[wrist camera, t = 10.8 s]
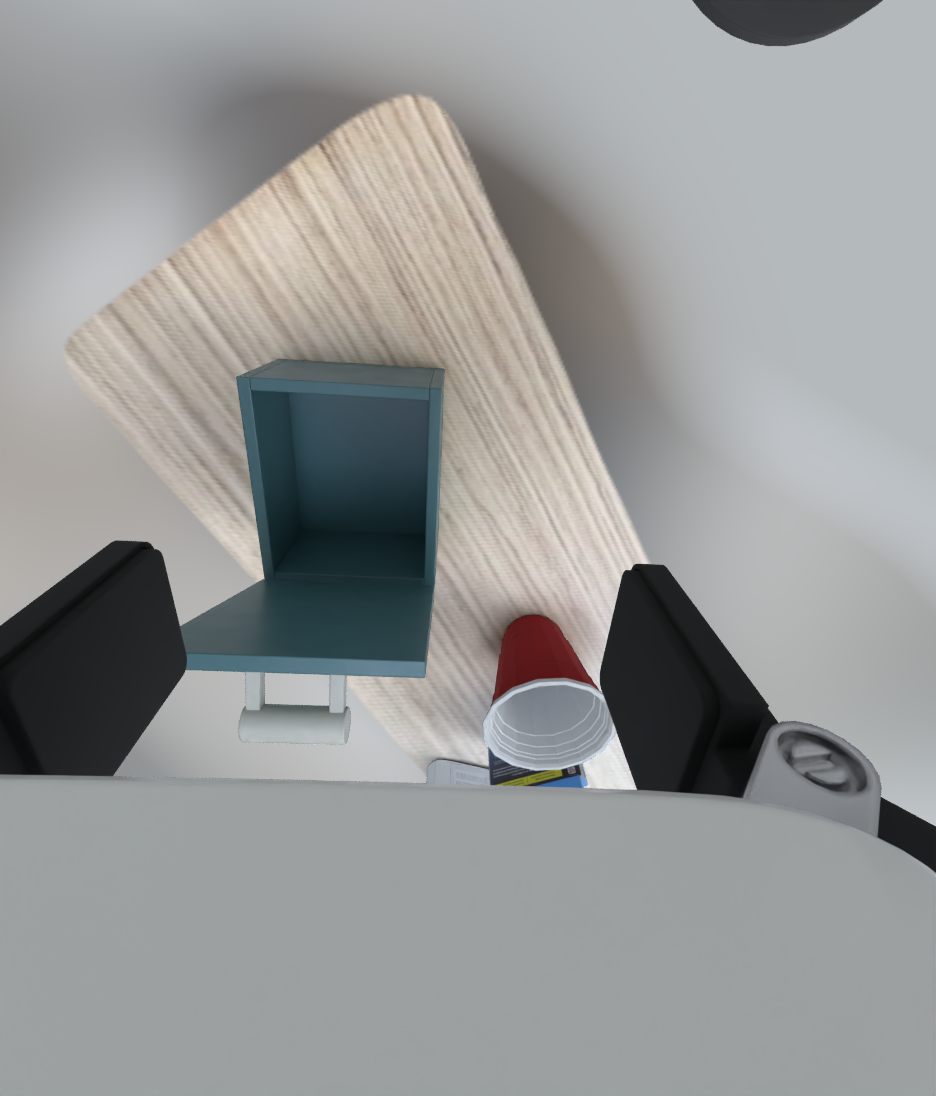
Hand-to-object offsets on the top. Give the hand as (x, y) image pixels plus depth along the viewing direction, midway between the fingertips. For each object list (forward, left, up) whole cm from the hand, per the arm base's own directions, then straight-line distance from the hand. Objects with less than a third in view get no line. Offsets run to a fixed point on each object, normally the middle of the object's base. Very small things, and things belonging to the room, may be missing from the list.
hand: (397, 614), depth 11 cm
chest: (+7, -6, -32) cm, 34 cm away
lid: (+11, -6, -16) cm, 21 cm away
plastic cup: (+25, +10, -32) cm, 42 cm away
